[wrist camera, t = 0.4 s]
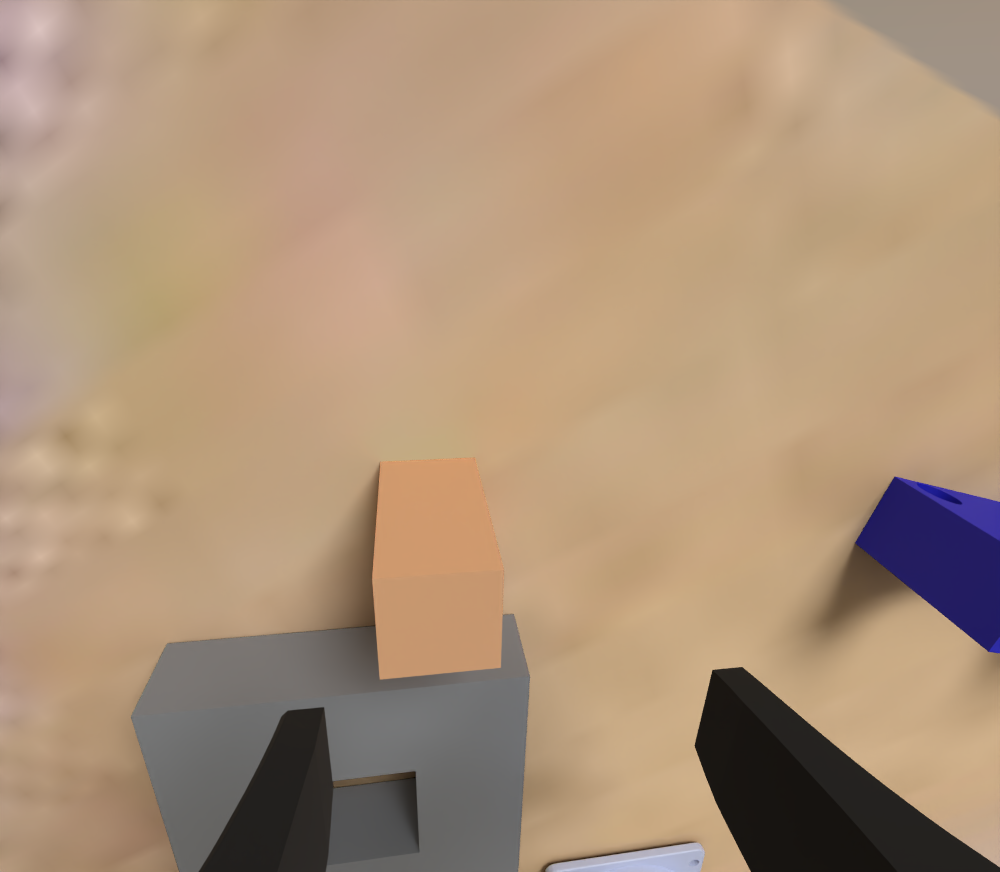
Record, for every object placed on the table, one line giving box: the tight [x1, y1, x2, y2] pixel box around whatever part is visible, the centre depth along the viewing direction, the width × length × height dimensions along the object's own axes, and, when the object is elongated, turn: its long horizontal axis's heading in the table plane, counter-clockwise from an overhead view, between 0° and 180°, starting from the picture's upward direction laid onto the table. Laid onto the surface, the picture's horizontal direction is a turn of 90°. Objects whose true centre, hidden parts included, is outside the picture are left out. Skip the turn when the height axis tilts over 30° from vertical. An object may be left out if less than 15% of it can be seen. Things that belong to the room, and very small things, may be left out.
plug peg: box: [372, 458, 504, 680], centre depth 17 cm, size 3×3×6 cm
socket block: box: [131, 614, 530, 872], centre depth 22 cm, size 12×12×3 cm
